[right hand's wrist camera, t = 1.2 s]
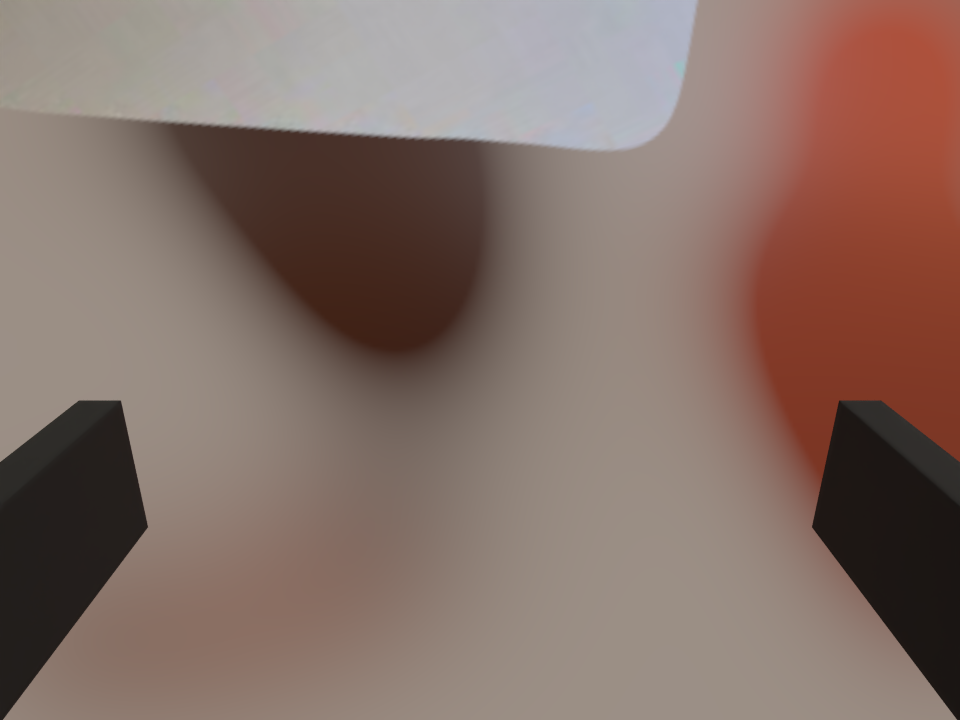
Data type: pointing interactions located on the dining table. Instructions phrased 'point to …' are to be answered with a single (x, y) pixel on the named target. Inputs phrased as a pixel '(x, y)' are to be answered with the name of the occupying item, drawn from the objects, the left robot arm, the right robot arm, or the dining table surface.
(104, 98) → the dining table surface
